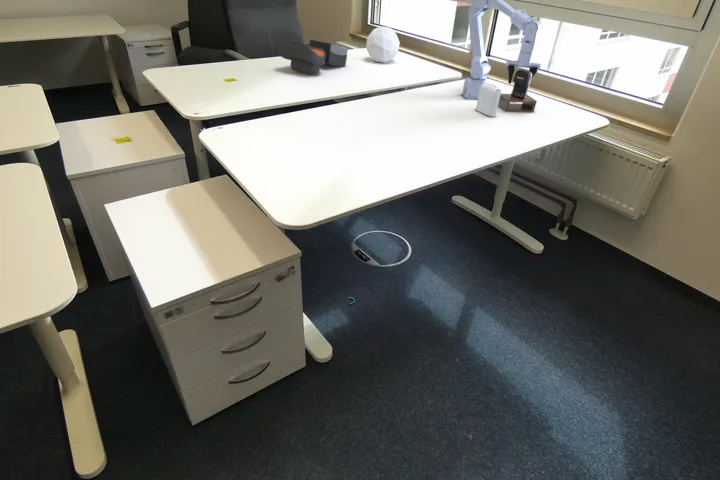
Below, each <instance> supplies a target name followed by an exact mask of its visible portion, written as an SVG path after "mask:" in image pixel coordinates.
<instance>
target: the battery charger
mask: <svg viewBox="0 0 720 480" xmlns="http://www.w3.org/2000/svg"><path fill="white" fill-rule="evenodd" d="M514 73H515V74H514V77H513V79H512V80H513V82H514V84H513V87H512V91H511V93H510V94H511V95H512V96H514V97H517V98H526V95H528V91H529V89H530V85H531V82H532V79H533V77H532V73H531V72H530V71H529V70H527V69H518V70H517V71H516V72H514ZM531 78H532V79H531Z"/></svg>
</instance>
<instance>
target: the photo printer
mask: <svg viewBox="0 0 720 480" xmlns="http://www.w3.org/2000/svg"><path fill="white" fill-rule="evenodd" d="M501 94H502V90H501V88H500V87H499V86H497V85H496V84H494V83H490V82H486V83H484V84H482V85H481V87H480V91H479V96H478V99H477V101H476V106H475V111H477V112H479V113H481V114H483V115H486V116H487V117H491V118H492V117H493V118H494V117H496V115H497V111H498V107H499V106H498V103H499V99H500V95H501Z"/></svg>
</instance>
